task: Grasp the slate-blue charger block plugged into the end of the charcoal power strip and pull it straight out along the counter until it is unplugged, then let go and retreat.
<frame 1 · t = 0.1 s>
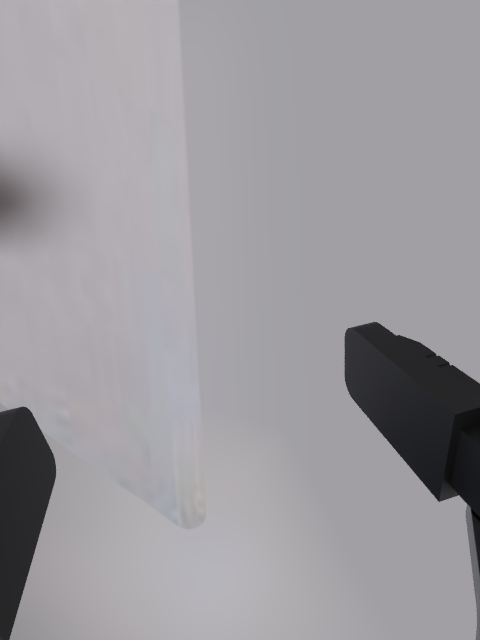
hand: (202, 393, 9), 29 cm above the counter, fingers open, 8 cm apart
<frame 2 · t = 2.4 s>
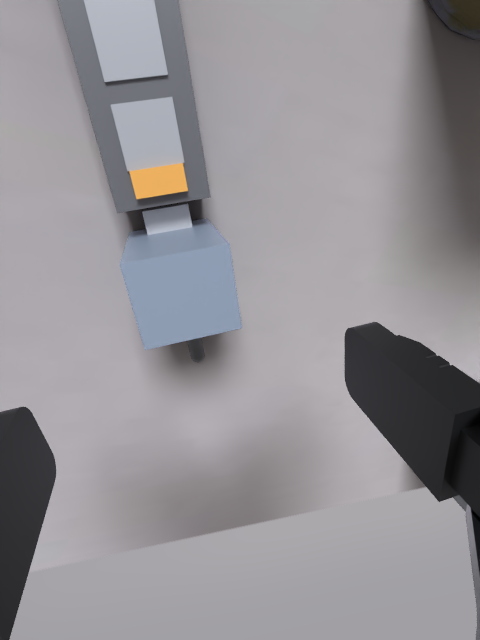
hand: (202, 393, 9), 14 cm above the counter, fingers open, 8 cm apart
charger: (183, 288, 19), point 4 cm above the counter, slide at 0.0 cm
strip: (135, 71, 17), on the counter
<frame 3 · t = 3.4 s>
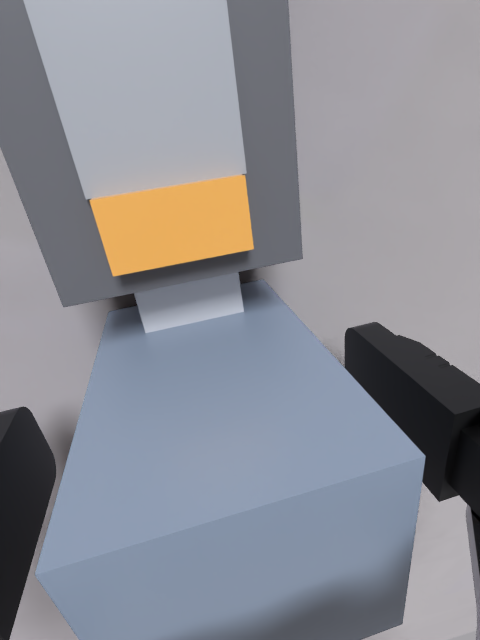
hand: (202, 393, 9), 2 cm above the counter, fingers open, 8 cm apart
charger: (225, 453, 8), point 4 cm above the counter, slide at 0.0 cm
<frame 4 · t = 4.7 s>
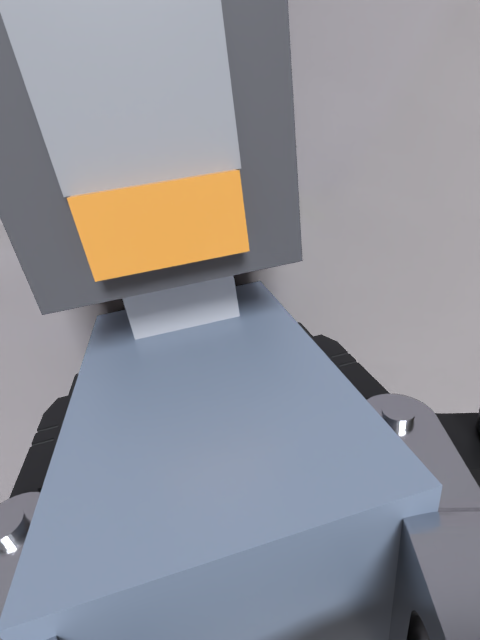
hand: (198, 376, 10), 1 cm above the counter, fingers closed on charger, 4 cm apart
charger: (220, 467, 8), point 4 cm above the counter, slide at 0.0 cm, touching gripper
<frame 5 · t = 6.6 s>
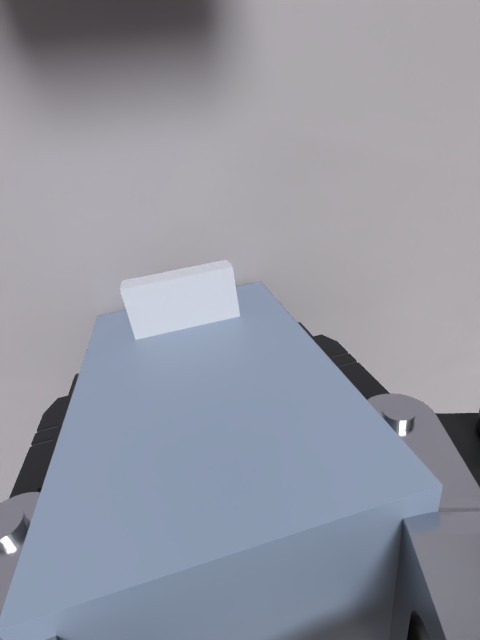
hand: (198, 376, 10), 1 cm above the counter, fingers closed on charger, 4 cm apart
charger: (220, 467, 8), point 4 cm above the counter, slide at 6.8 cm, touching gripper
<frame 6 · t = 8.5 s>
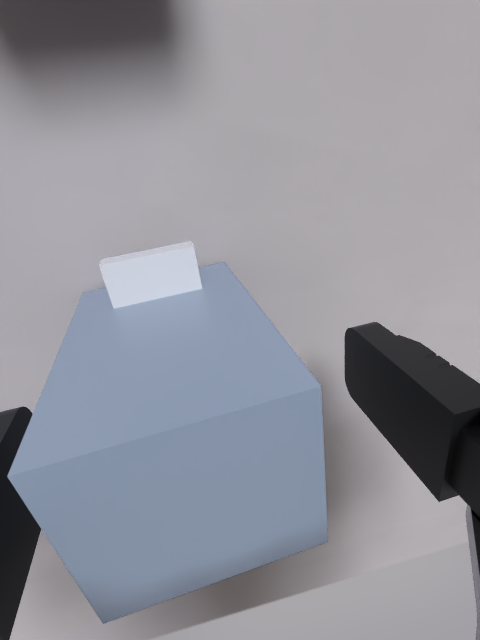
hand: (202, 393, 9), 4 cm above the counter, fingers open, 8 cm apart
charger: (186, 413, 9), point 4 cm above the counter, slide at 6.9 cm
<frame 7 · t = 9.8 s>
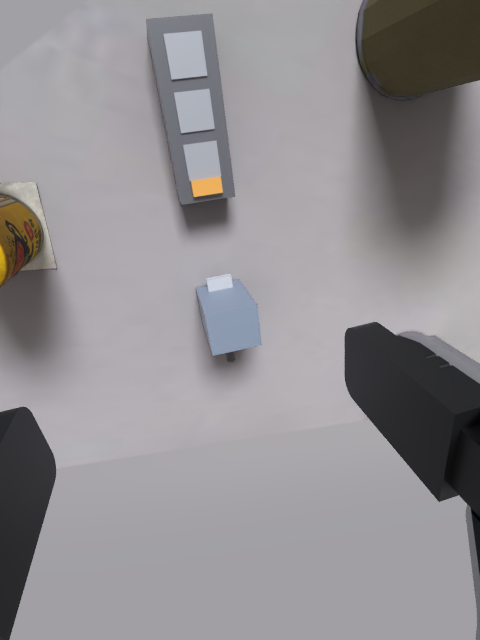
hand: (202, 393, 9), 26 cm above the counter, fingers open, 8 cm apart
canister: (408, 27, 30), on the counter
charger: (227, 321, 34), point 4 cm above the counter, slide at 6.9 cm
strip: (191, 121, 30), on the counter
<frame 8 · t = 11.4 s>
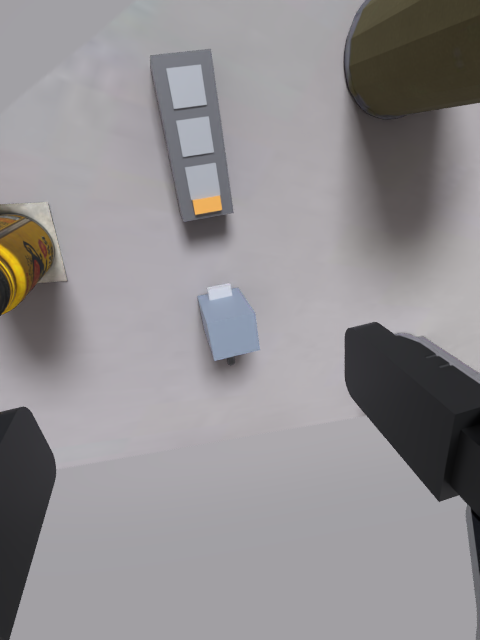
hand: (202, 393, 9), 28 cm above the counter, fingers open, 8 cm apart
condiment: (9, 246, 32), on the counter
canister: (392, 53, 33), on the counter
charger: (228, 327, 36), point 4 cm above the counter, slide at 6.9 cm
strip: (191, 143, 32), on the counter
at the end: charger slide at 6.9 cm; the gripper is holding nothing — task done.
